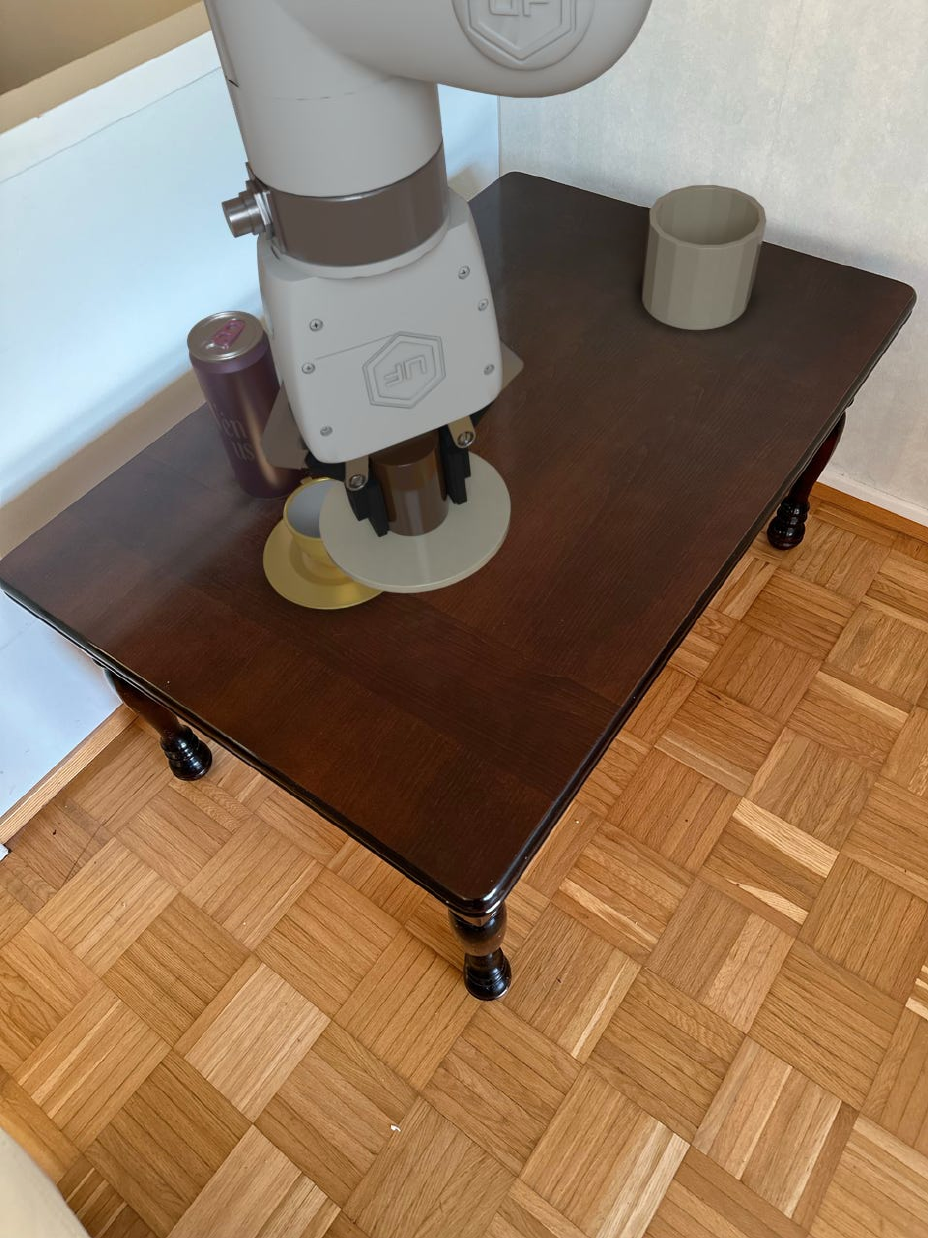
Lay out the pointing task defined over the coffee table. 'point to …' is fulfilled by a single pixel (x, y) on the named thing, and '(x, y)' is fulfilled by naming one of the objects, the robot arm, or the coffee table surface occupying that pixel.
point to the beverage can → (241, 397)
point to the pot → (701, 256)
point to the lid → (417, 521)
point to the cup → (308, 555)
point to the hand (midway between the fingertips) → (412, 501)
